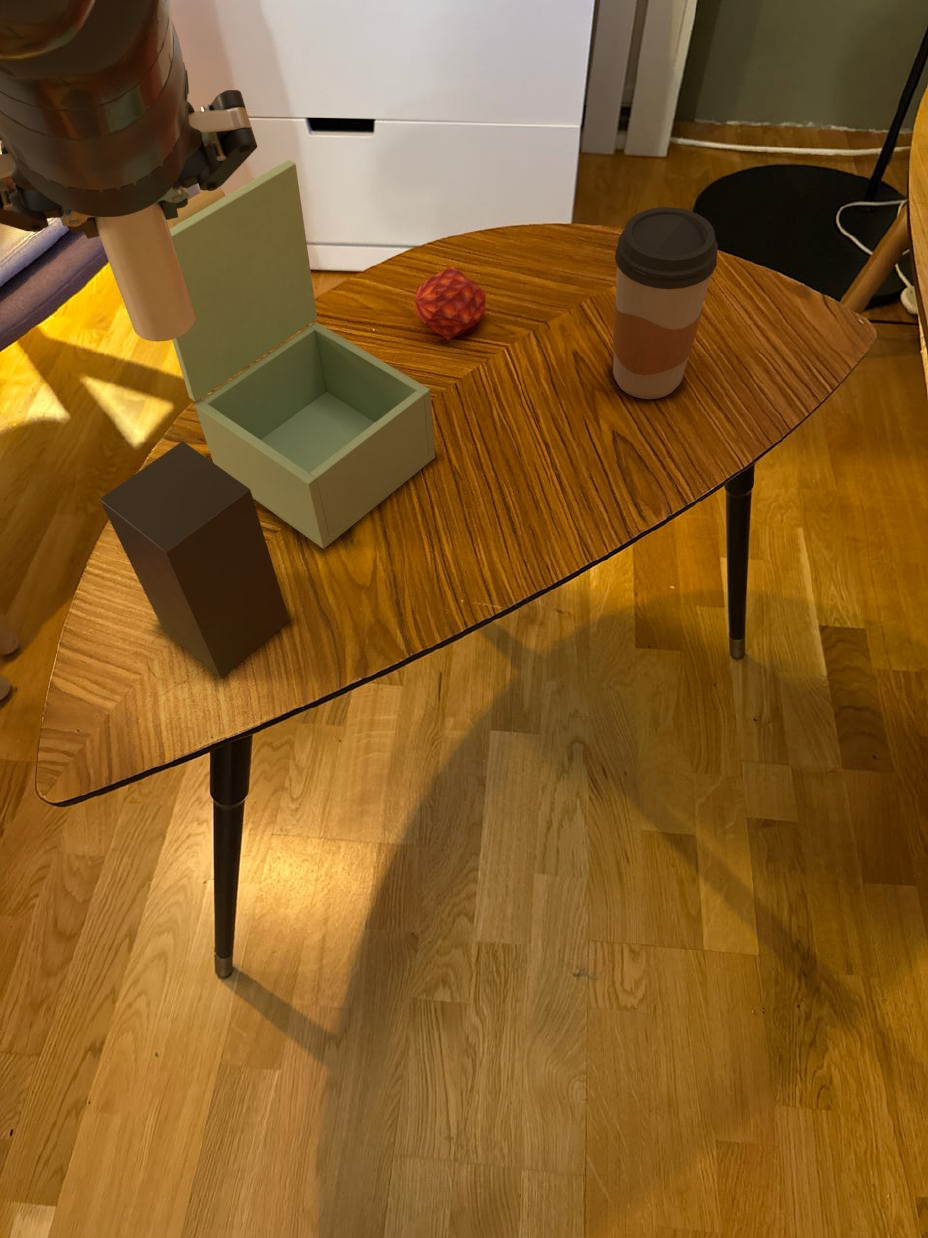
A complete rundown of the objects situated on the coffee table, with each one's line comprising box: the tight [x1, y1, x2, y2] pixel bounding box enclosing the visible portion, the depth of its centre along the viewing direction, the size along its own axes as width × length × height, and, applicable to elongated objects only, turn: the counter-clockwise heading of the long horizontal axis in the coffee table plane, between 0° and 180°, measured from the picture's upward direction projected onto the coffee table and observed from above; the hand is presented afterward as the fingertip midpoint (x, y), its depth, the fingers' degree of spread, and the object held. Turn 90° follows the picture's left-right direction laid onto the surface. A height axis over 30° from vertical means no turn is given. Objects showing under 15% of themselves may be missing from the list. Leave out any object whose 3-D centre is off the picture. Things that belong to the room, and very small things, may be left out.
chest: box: [193, 321, 436, 550], centre depth 83 cm, size 14×14×8 cm
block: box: [99, 440, 291, 680], centre depth 71 cm, size 7×7×15 cm
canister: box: [93, 201, 195, 342], centre depth 54 cm, size 4×4×10 cm
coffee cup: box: [612, 206, 719, 400], centre depth 86 cm, size 8×8×15 cm
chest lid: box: [167, 159, 318, 403], centre depth 77 cm, size 14×14×5 cm
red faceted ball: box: [414, 265, 487, 341], centre depth 95 cm, size 6×7×8 cm
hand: (126, 209), depth 54 cm, fingers closed on canister, 3 cm apart
